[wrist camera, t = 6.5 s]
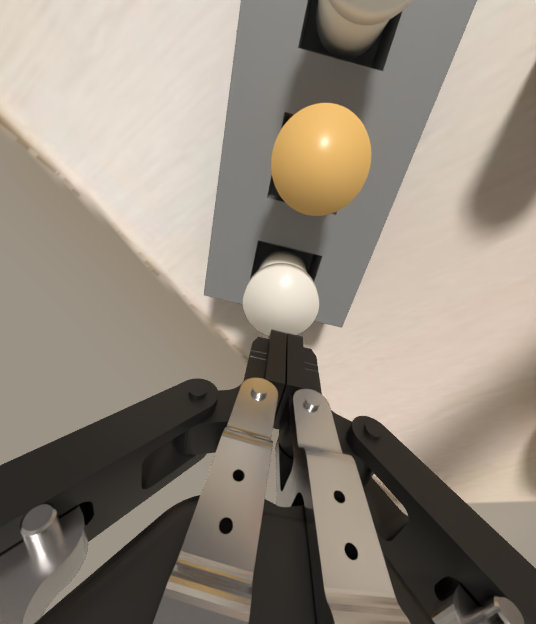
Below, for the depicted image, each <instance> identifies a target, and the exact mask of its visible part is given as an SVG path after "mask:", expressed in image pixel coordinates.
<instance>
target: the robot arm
mask: <svg viewBox="0 0 536 624" xmlns="http://www.w3.org/2000/svg"><path fill="white" fill-rule="evenodd" d="M273 428H275V429H279V438H278V440H277V443H276V447H275V451H276V489H277V490H276V491H277V497H276V505H275V504H273V503H271V502H269V501H267V500H266V499H265V493H266V487H267V480H268V473H269V467H270V460H271V454H272V446H273V441H271V437H272V430H273ZM213 452H216V453H215V456H214V459H213V461H212V464H211V467H210V470H209V473H208V475H207V478H206V481H205V484H204V487H203V489H202V493H201V495H199V496H194V497H191V498H189V499H186V500H184V501H182V502H180V503H178V504H176V505H174V506H173V507H171V508H170V509H168V510H167V511H166V512H164V513H163V514H162V515H161V516H159V517H158V518H157V519H156V520H155V521H154V522H152V523H151V524H150V525H149V526H148V527H147V528H145V529H144V530H143V531H142V532H141V533H139V534H138V535H137V536H136V537H135V538H134V539H132V540H131V541H130V542H129V543H128V544H127V545H125V546H124V547H123V548H122V549H121V550H120V551H118V552H117V553H116V554H115V555H114V556H113V557H111V558H110V559H109V560H108V561H107V562H106V563H104V564H103V565H102V566H101V567H100V568H98V569H97V570H96V571H95V572H94V573H93V574H91V575H90V576H89V577H88V578H87V579H86V580H85V581H83V582H82V583H81V584H80V585H79V586H77V587H76V588H75V589H74V590H73V591H72V592H70V593H69V594H68V595H67V596H66V597H64V598H63V599H62V600H61V601H60V602H59V603H57V604H56V605H55V606H54V607H53V608H52V609H51V610H49V611H48V612H47V613H46V614H45V615H43V613H44V612H45V610H46V608H47V607H48V606H49V604H50V602H51V601H52V600H53V599H54V598H55V597H56V595H57V594H58V593H59V592H60V591H61V590H62V589H63V588H64V587H65V586H67V585H68V584H69V582H71V580H72V579H73V578H74V577H75V576H76V574H77V573H78V571H79V570H80V568H81V566H82V564H83V563H84V560H85V558H86V554H87V551H88V542H89V541H90V540H92V539H93V538H94V537H96V536H97V535H98V534H100V533H101V532H102V531H104V530H105V529H107V528H108V527H109V526H111V525H112V524H113V523H115V522H116V521H118V520H119V519H120V518H122V517H123V516H124V515H126V514H127V513H129V512H130V511H131V510H132V509H134V508H135V507H137V506H138V505H139V504H141V503H142V502H144V501H145V500H146V499H148V498H149V497H151V496H152V495H153V494H155V493H156V492H157V491H159V490H160V489H161V488H163V487H164V486H166V485H167V484H168V483H170V482H171V481H172V480H174V479H175V478H177V477H178V476H179V475H181V474H182V473H183V472H185V471H186V470H187V469H189V468H190V467H192V466H193V465H194V464H196V463H197V462H199V461H200V460H201V459H202V458H204V456H205V455H206V454H207V453H213ZM373 474H375V475H376V476H377V477H378V478H379V479H380V480H381V481H382V482H383V484H384V485H385V486H386V487H387V488H388V489H389V490H390V491H391V492H392V494H393V495H394V496H395V497H396V498H397V499H398V500H399V501H400V502H401V504H402V505H403V506H404V507H405V509H406V511H407V513H408V516H407V515H405V514H404V513H403V512H401V510H400V509H399V508H398V507H397V506H396V505H395V504H394V502H393V501H392V500H391V499H390V498H389V497H388V496H387V494H386V493H385V492H384V491H383V490H382V489H381V488H380V486H379V485H378V484H377V483H376V482H375V481H374V480H373V479H372V476H373ZM42 615H43V616H42ZM0 624H536V568H534V567H533V566H532V565H531V564H530V563H529V562H528V561H527V560H526V559H525V558H524V557H523V556H522V555H521V554H520V553H519V552H517V551H516V550H515V549H514V548H513V547H512V546H511V545H510V544H509V543H508V542H507V541H506V540H505V539H504V538H503V537H501V536H500V535H499V534H498V533H497V532H496V531H495V530H494V529H493V528H492V527H491V526H490V525H489V524H488V523H486V521H484V520H483V519H482V518H481V517H480V516H479V515H478V514H477V513H476V512H475V511H474V510H473V509H472V508H471V507H470V506H468V505H467V504H466V503H465V502H464V501H463V500H462V499H461V498H460V497H459V496H458V495H457V494H456V493H455V492H454V491H453V490H451V489H450V488H449V487H448V486H447V485H446V484H445V483H444V482H443V481H442V480H441V479H440V478H439V477H438V476H437V475H435V474H434V473H433V472H432V471H431V470H430V469H429V468H428V467H427V466H426V465H425V464H424V463H423V462H422V461H421V460H420V459H418V458H417V457H416V456H415V455H414V454H413V453H412V452H411V451H410V450H409V449H408V448H407V447H406V446H405V445H404V444H402V443H401V442H400V441H399V440H398V439H397V438H396V437H395V436H394V435H393V434H392V433H391V432H390V431H389V430H388V429H387V428H385V427H384V426H383V425H382V424H381V423H380V422H378V421H377V420H375V419H373V418H370V417H367V416H358V417H356V418H355V419H354V420H353V421H352V422H351V421H349V420H347V419H345V418H343V417H341V416H339V415H337V414H336V413H334V412H333V411H332V410H331V408H330V405H329V403H328V401H327V399H326V398H325V397H324V396H323V395H322V393H321V386H320V379H319V372H318V366H317V358H316V355H315V354H314V353H313V351H312V350H311V349H309V348H304V347H303V337H302V336H299V335H294V334H290V333H287V334H286V333H285V332H281V331H277V330H272V329H271V332H270V335H269V339H265V338H261V337H258V338H257V339H256V340H255V341H253V343H252V347H251V351H250V356H249V360H248V364H247V368H246V373H245V377H244V381H243V383H242V384H241V385H240V386H238V387H237V388H234V389H231V390H222V391H218V390H217V388H216V386H215V385H214V384H213V383H211V382H210V381H207V380H204V379H191V380H187V381H185V382H183V383H180V384H178V385H177V386H174V387H172V388H169V389H167V390H165V391H163V392H161V393H158V394H156V395H154V396H152V397H150V398H147V399H145V400H143V401H141V402H139V403H136V404H134V405H132V406H130V407H128V408H125V409H123V410H121V411H119V412H117V413H114V414H113V415H110V416H108V417H106V418H103V419H101V420H99V421H97V422H95V423H93V424H90V425H88V426H86V427H84V428H82V429H79V430H77V431H75V432H73V433H71V434H68V435H66V436H64V437H62V438H60V439H57V440H55V441H53V442H51V443H48V444H46V445H44V446H42V447H40V448H37V449H35V450H33V451H31V452H29V453H26V454H24V455H22V456H20V457H18V458H16V459H13V460H11V461H9V462H7V463H4V464H2V465H1V466H0Z"/></svg>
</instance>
